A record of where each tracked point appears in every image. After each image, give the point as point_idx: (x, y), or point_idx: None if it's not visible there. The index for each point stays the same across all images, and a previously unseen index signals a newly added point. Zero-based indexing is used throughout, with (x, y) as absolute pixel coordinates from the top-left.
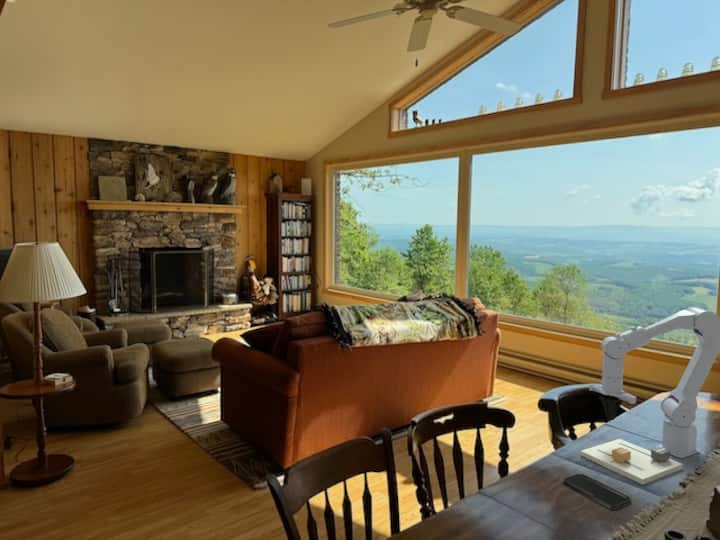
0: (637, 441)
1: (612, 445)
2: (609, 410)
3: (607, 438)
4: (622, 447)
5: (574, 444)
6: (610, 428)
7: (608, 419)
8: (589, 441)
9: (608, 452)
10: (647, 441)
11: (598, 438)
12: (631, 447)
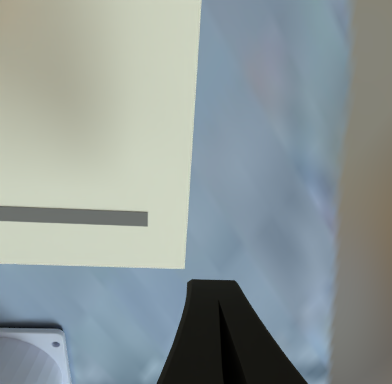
0: (153, 331)
1: (145, 154)
2: (198, 380)
3: (253, 256)
4: (96, 179)
5: (340, 8)
6: (302, 352)
7: (214, 281)
8: (296, 143)
9: (80, 15)
10: (131, 360)
11: (283, 220)
12: (71, 222)
